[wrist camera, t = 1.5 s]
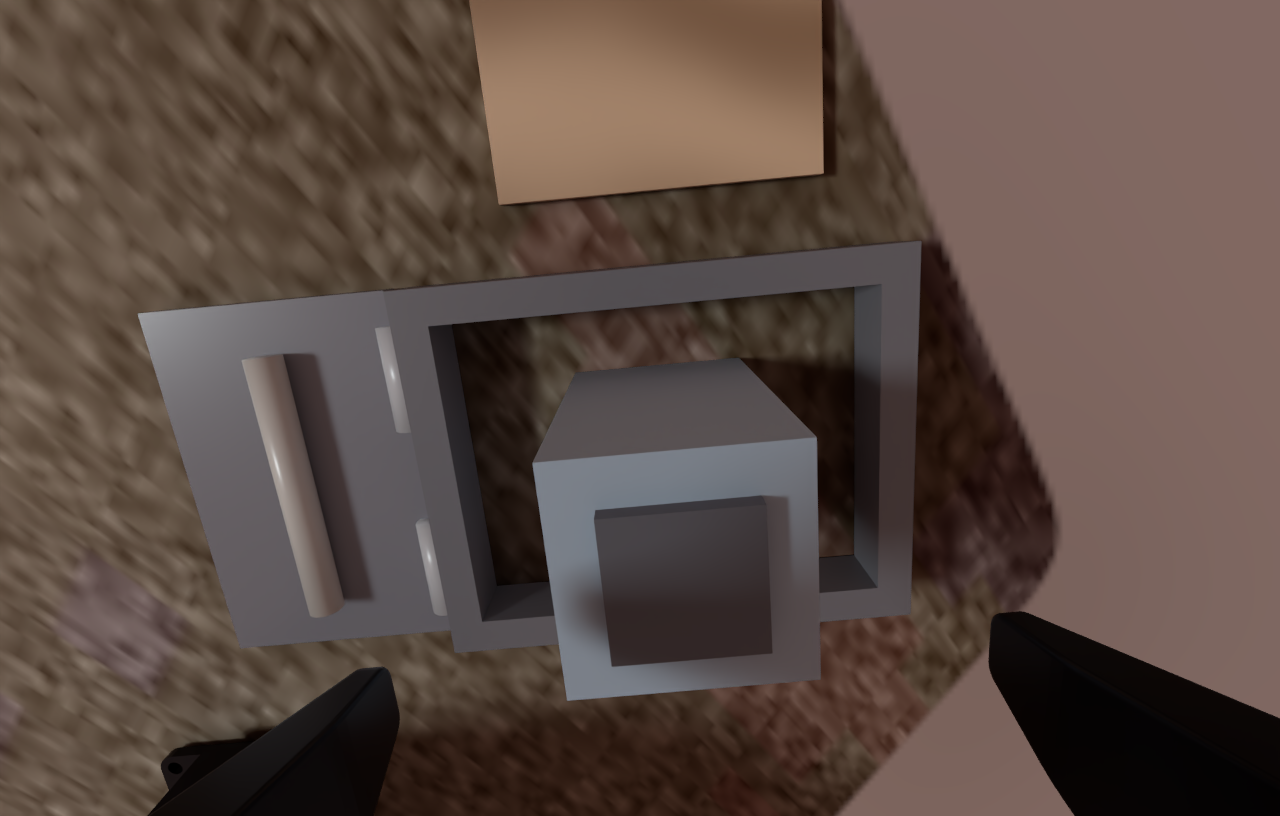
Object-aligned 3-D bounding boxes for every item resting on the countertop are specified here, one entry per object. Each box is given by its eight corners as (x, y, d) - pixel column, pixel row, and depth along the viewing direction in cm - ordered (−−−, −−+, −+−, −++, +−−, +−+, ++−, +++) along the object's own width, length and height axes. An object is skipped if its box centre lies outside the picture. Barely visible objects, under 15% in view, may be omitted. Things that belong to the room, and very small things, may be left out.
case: (883, 579, 20) (910, 614, 18) (255, 632, 20) (215, 673, 18) (889, 242, 17) (921, 240, 15) (159, 310, 18) (100, 318, 16)
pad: (819, 174, 17) (823, 173, 16) (501, 205, 17) (498, 204, 16) (814, -219, 14) (819, -232, 14) (446, -180, 15) (441, -192, 14)
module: (746, 508, 19) (826, 694, 11) (593, 521, 19) (565, 716, 11) (738, 357, 18) (823, 444, 10) (575, 372, 18) (528, 471, 10)
